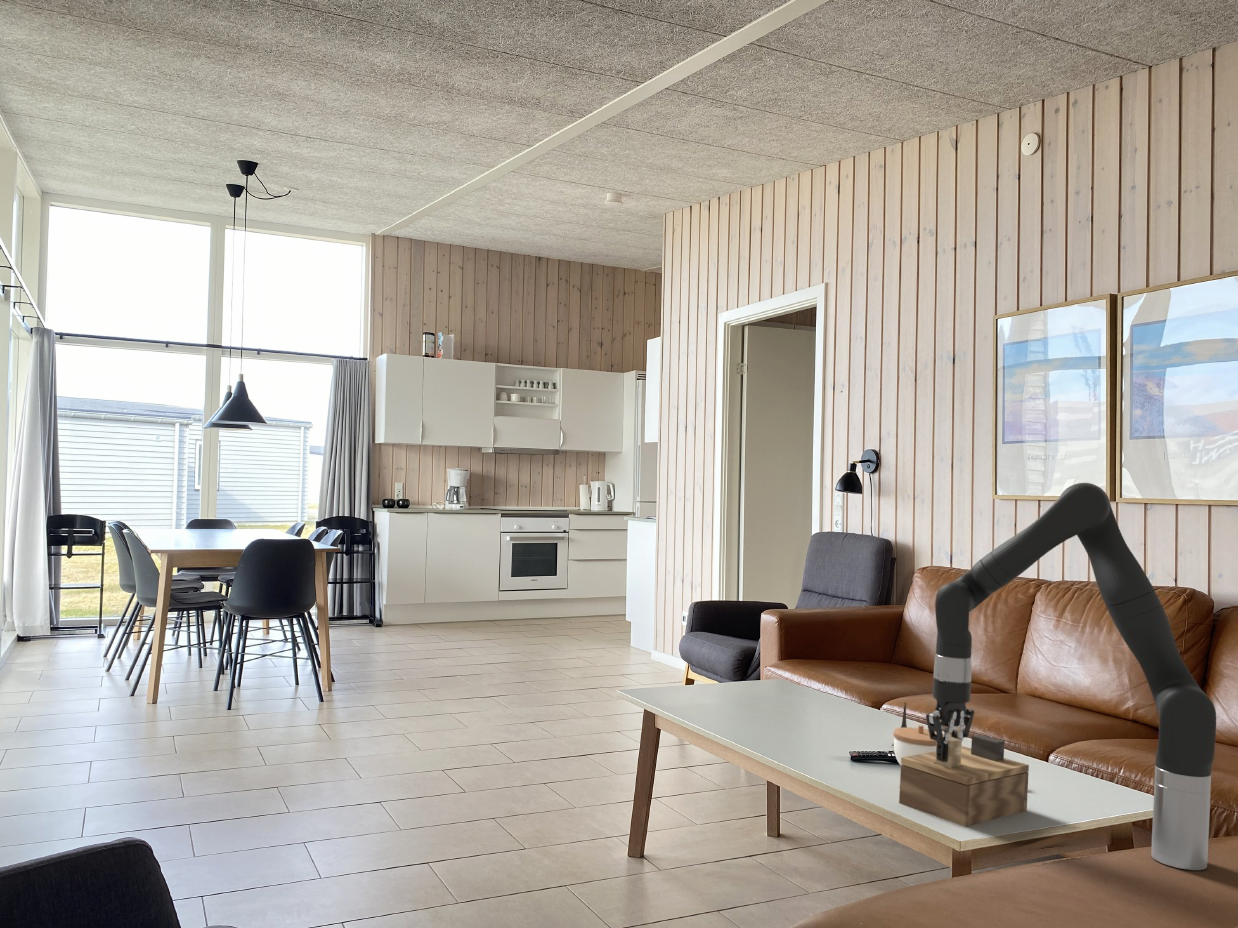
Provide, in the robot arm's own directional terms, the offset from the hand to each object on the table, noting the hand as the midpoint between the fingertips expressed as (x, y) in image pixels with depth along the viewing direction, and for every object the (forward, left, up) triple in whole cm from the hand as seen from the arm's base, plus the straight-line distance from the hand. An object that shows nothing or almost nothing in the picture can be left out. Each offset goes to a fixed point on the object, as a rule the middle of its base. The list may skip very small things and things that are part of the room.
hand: (948, 759), depth 206 cm
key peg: (0, 0, -11) cm, 11 cm away
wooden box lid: (-6, 0, -2) cm, 6 cm away
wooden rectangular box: (-6, 0, -12) cm, 13 cm away
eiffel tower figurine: (-39, -41, -12) cm, 58 cm away
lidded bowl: (-23, -24, -12) cm, 35 cm away
